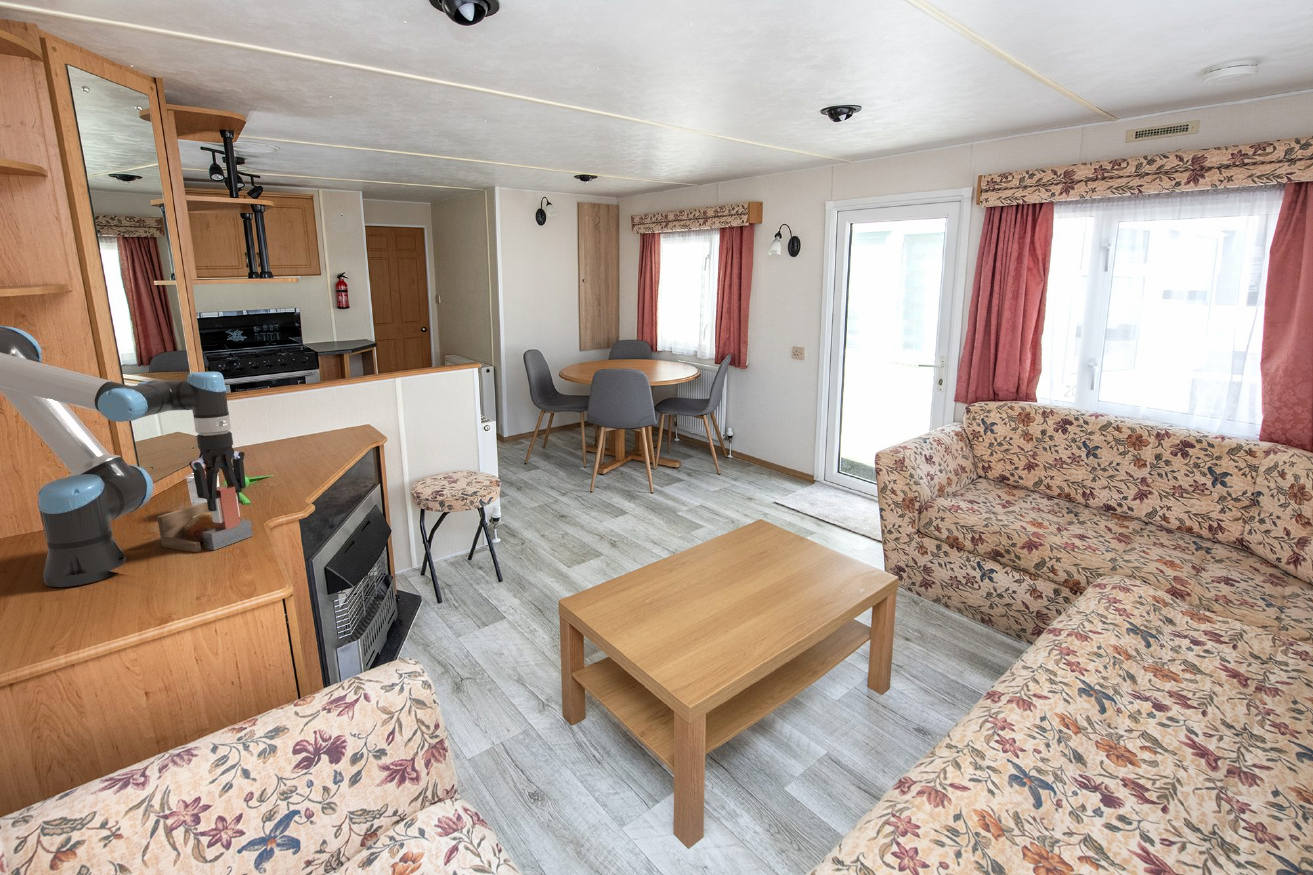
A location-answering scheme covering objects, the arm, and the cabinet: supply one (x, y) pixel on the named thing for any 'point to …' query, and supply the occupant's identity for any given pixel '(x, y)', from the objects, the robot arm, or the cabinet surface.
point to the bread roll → (198, 526)
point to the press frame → (179, 528)
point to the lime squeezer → (247, 481)
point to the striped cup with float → (193, 491)
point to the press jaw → (227, 522)
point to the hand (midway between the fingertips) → (226, 519)
